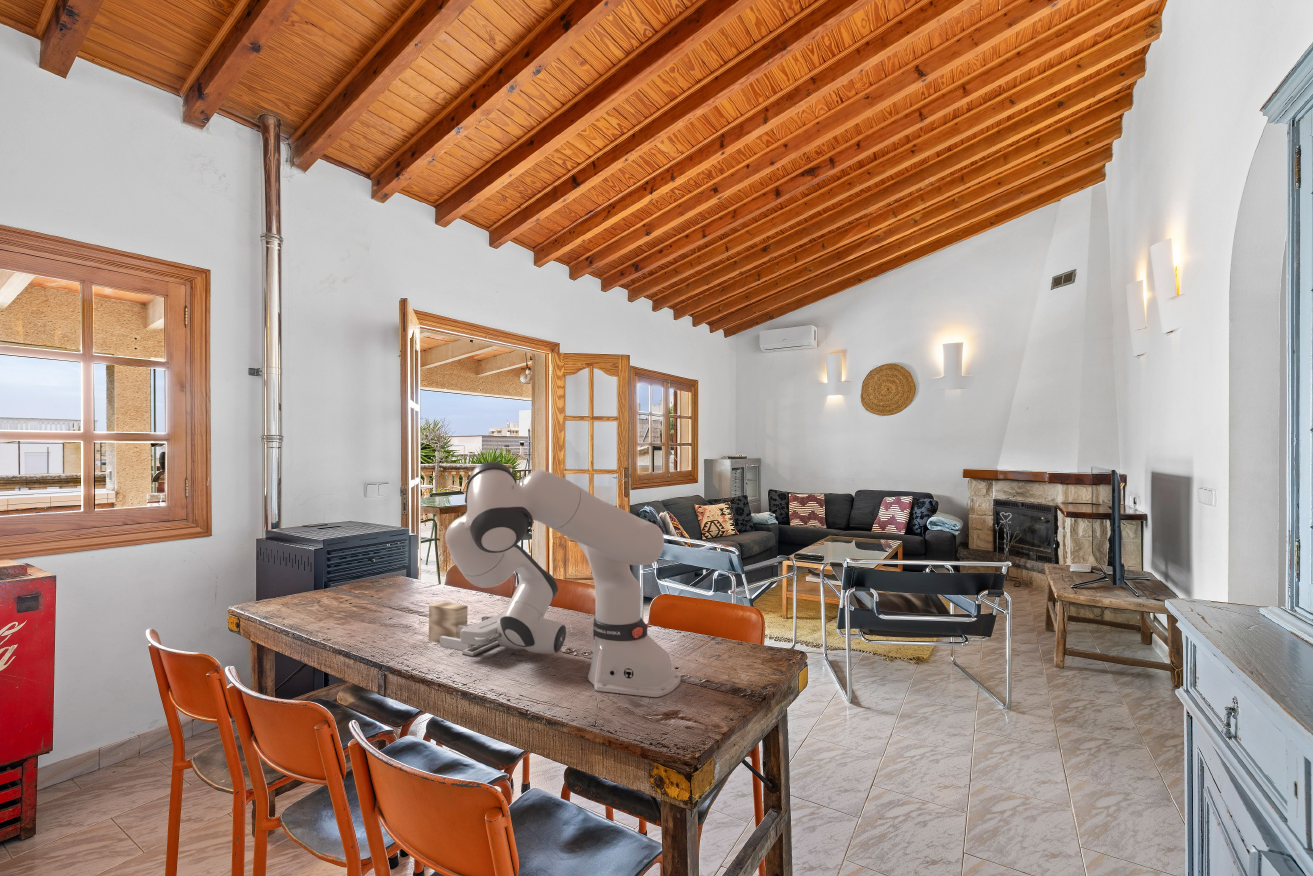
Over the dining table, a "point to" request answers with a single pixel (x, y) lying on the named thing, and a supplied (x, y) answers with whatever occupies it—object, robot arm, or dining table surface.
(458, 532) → the robot arm
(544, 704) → the dining table surface
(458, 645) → the white flat piece
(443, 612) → the birch block
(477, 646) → the trap slot
